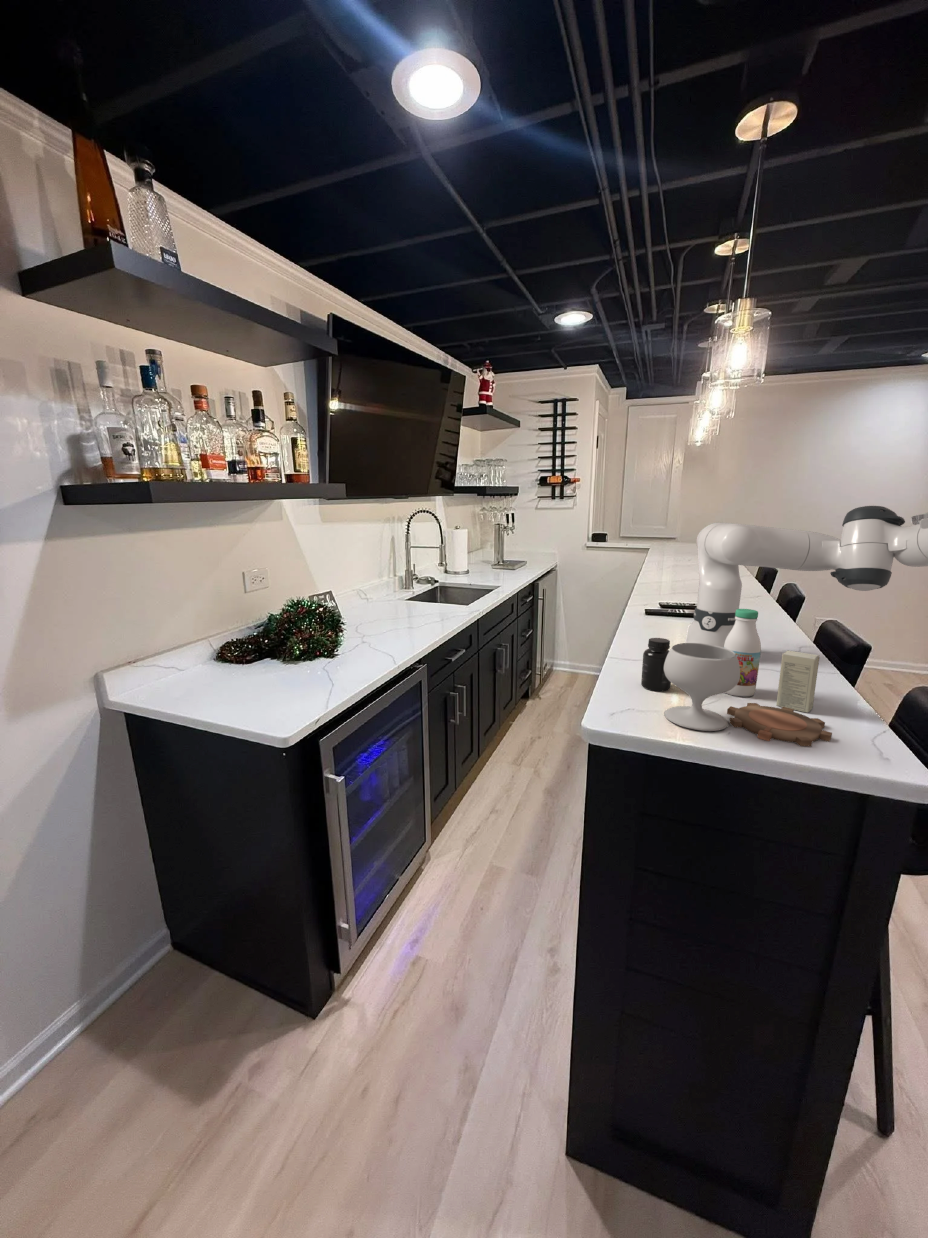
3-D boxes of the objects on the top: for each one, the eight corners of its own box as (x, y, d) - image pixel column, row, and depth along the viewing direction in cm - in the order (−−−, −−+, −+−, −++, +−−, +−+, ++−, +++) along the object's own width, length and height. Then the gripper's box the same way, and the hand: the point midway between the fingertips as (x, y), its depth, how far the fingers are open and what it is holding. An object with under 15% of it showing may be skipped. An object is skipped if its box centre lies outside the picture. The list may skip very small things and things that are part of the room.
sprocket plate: (741, 701, 113) (742, 695, 113) (839, 726, 100) (840, 719, 100) (713, 725, 100) (714, 718, 100) (820, 756, 88) (821, 749, 88)
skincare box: (813, 708, 109) (822, 655, 107) (808, 713, 106) (817, 659, 104) (779, 700, 114) (787, 649, 111) (774, 705, 111) (782, 652, 108)
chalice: (657, 727, 100) (664, 655, 96) (661, 702, 112) (667, 638, 109) (735, 740, 94) (746, 664, 91) (730, 713, 106) (739, 646, 103)
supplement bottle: (665, 683, 125) (670, 636, 122) (674, 692, 118) (679, 644, 116) (637, 681, 126) (641, 636, 123) (644, 691, 119) (648, 643, 116)
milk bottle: (716, 684, 124) (726, 606, 120) (751, 688, 121) (762, 608, 117) (720, 695, 117) (731, 612, 112) (758, 699, 114) (770, 614, 110)
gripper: (1044, 527, 80) (928, 544, 88) (1003, 518, 96) (908, 533, 104) (1041, 487, 79) (924, 508, 87) (1000, 486, 95) (905, 503, 103)
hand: (915, 522), depth 96 cm, fingers open, 8 cm apart
